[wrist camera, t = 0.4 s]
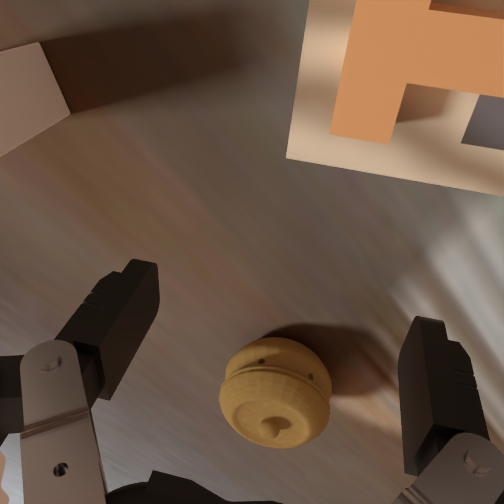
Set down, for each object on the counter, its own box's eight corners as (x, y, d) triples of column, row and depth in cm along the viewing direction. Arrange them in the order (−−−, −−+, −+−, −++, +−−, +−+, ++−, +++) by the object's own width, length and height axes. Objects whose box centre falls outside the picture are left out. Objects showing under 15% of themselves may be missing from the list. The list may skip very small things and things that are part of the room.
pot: (244, 308, 48) (219, 382, 40) (348, 340, 47) (345, 422, 39) (225, 373, 55) (202, 447, 47) (316, 402, 54) (308, 481, 47)
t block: (373, -86, 26) (374, -89, 23) (590, -62, 25) (623, -61, 21) (332, 115, 33) (328, 134, 30) (498, 142, 32) (513, 165, 29)
